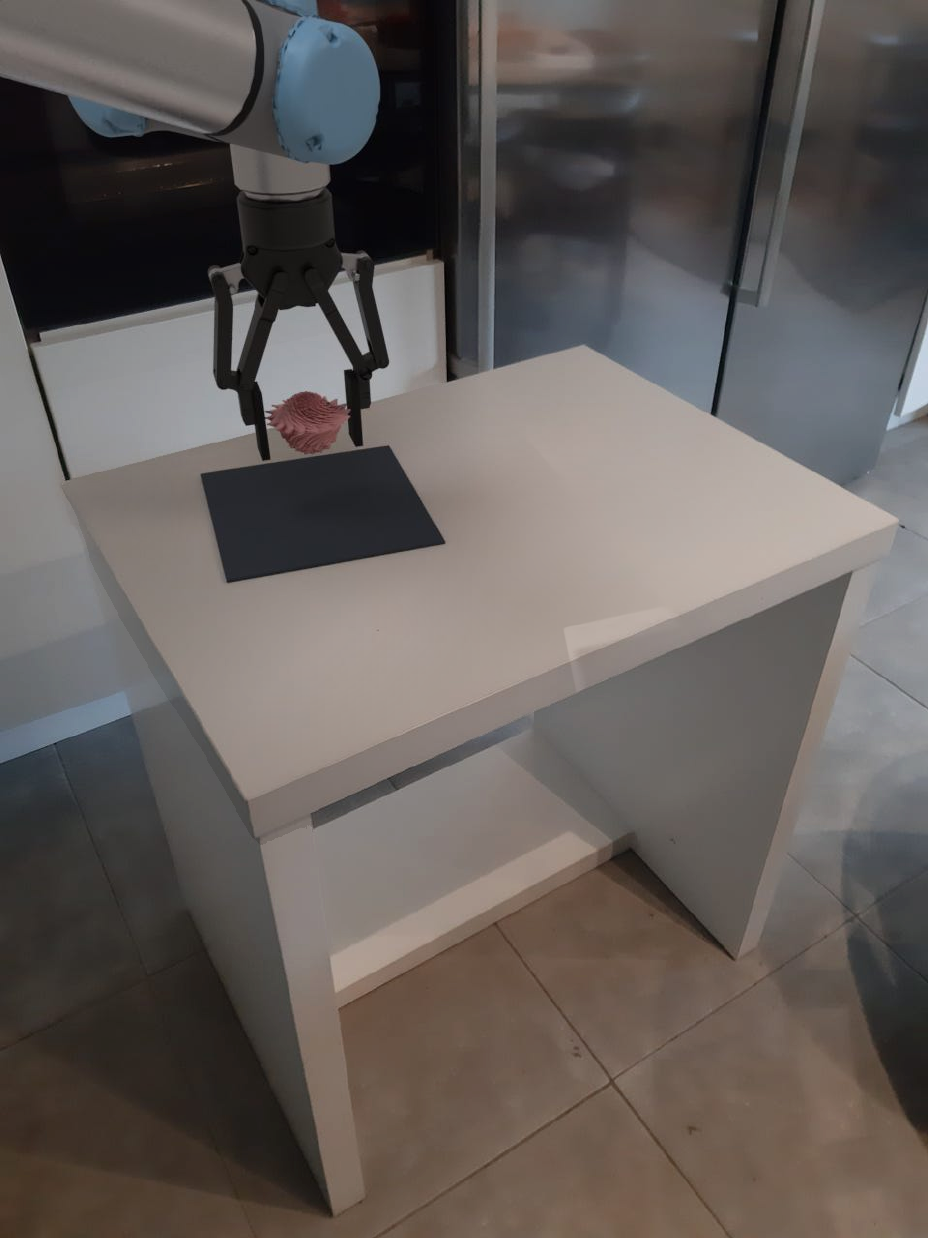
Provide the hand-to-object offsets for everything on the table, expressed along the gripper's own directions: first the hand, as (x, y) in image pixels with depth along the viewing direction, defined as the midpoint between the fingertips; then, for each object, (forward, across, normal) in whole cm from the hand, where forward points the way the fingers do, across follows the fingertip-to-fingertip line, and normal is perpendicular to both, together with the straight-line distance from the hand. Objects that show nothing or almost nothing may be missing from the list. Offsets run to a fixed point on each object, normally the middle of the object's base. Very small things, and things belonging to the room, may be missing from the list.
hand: (310, 446), depth 92 cm
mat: (+7, 0, 0) cm, 7 cm away
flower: (0, 0, 0) cm, 0 cm away
